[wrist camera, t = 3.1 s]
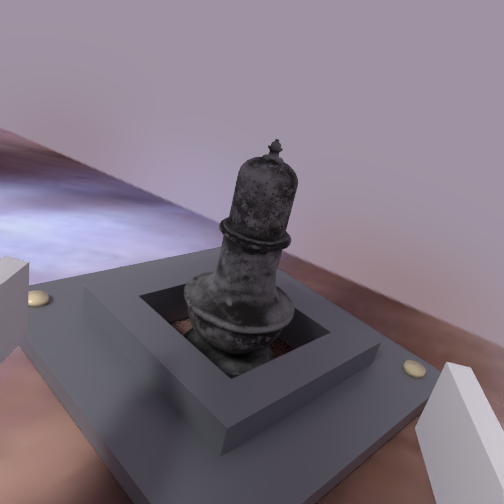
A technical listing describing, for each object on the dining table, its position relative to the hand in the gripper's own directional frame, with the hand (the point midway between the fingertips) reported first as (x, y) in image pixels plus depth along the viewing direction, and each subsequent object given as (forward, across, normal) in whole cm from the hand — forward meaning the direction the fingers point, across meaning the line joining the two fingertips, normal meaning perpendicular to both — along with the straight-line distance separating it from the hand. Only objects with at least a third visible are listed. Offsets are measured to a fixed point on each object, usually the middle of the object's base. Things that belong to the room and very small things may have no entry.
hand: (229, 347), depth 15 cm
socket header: (+9, 0, -7) cm, 12 cm away
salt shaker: (+9, 0, -7) cm, 12 cm away
